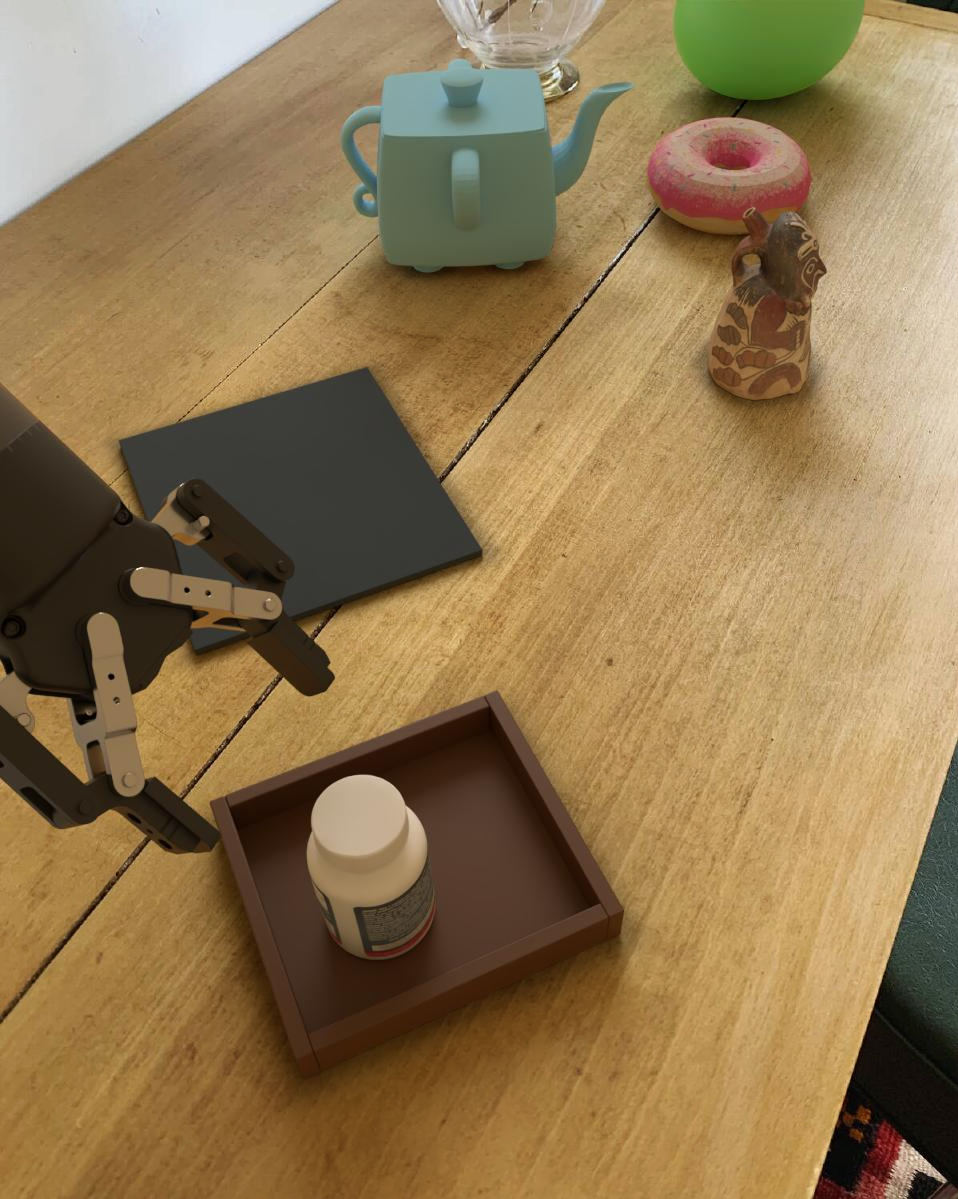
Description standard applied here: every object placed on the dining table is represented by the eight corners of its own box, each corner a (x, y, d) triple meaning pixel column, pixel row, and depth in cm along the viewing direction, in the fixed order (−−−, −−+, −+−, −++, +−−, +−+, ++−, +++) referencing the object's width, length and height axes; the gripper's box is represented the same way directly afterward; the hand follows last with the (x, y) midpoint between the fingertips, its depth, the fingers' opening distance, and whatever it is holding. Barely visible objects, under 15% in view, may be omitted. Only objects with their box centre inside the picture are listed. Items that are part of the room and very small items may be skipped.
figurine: (787, 412, 76) (824, 257, 67) (690, 382, 78) (712, 228, 69) (820, 355, 80) (859, 201, 71) (726, 328, 82) (752, 175, 73)
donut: (691, 262, 88) (699, 204, 84) (615, 183, 96) (619, 127, 92) (836, 224, 91) (850, 166, 87) (751, 150, 99) (760, 95, 95)
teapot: (453, 325, 83) (445, 154, 73) (325, 238, 92) (302, 72, 81) (624, 235, 91) (638, 68, 81) (491, 161, 99) (489, 1, 89)
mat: (196, 655, 63) (194, 650, 63) (120, 445, 75) (118, 439, 75) (483, 555, 68) (482, 549, 67) (367, 371, 80) (367, 366, 80)
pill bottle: (453, 882, 54) (444, 785, 47) (406, 980, 50) (389, 892, 44) (356, 843, 55) (333, 745, 48) (304, 937, 52) (272, 845, 45)
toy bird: (762, 149, 99) (793, -29, 88) (623, 88, 108) (635, -81, 96) (880, 82, 107) (922, -89, 96) (741, 31, 115) (765, -132, 104)
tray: (304, 1080, 48) (295, 1060, 46) (219, 826, 56) (208, 800, 54) (620, 934, 52) (624, 910, 50) (498, 716, 60) (497, 689, 58)
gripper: (-175, 590, 34) (207, 904, 40) (116, 336, 43) (401, 624, 48) (-210, 639, 40) (128, 908, 45) (53, 407, 48) (314, 657, 53)
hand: (268, 762), depth 46 cm, fingers open, 8 cm apart
